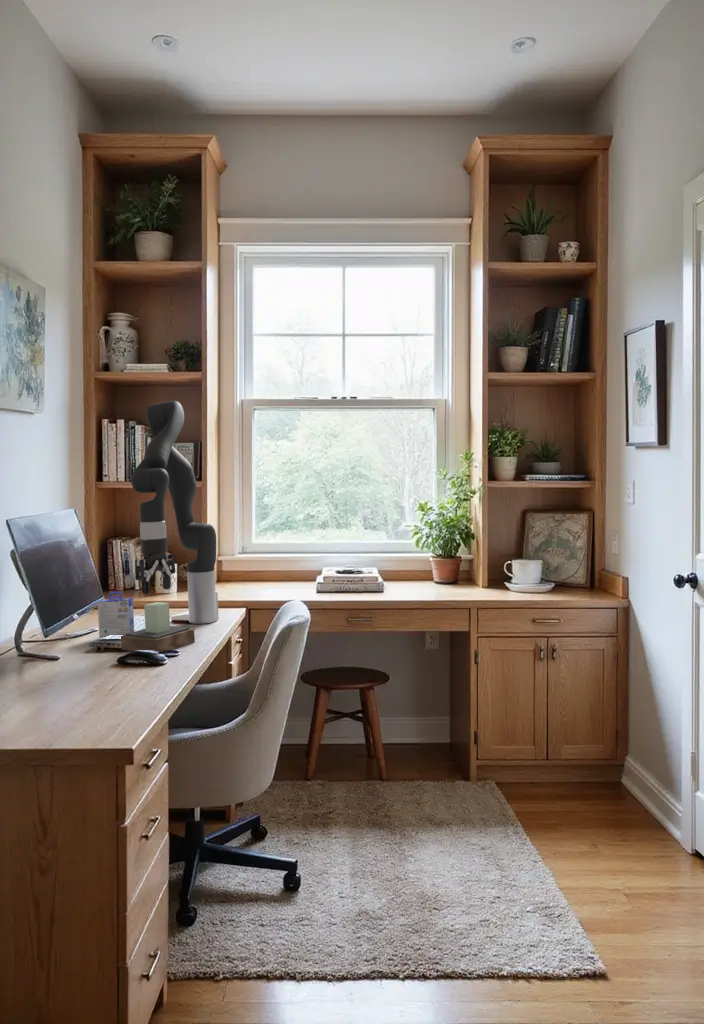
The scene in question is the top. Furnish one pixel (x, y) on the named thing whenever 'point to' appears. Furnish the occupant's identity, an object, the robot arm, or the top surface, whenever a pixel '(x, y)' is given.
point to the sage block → (157, 617)
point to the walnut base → (158, 639)
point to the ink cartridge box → (115, 615)
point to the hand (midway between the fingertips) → (156, 591)
